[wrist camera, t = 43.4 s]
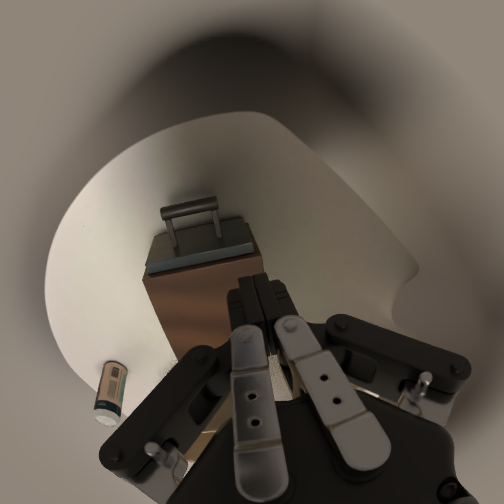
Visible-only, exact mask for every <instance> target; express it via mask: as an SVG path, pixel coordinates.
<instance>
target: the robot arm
mask: <svg viewBox="0 0 504 504" xmlns="http://www.w3.org/2000/svg"><path fill="white" fill-rule="evenodd" d="M237 280H238V285H239V288H236V289H231V290H229V291H228V293H227V296H226V300H227V306H228V313H229V319H230V325H231V336H230V338H229V340H228V341H227V342H226V343H224V344H223V345H221V346H219V347H217V348H215V349H214V348H212V347H211V346H208V345H198V346H195V347H193V348H191V349H190V350H188V351H187V353H186V354H185V355H184V356H183V357H182V358H181V359H180V360H179V362H178V363H177V364H176V365H175V366H174V367H173V368H172V369H171V370H170V372H169V373H168V374H167V375H166V376H165V377H164V378H163V379H162V381H161V382H160V383H159V384H158V385H157V386H156V387H155V388H154V389H153V390H152V392H151V393H150V394H149V395H148V396H147V397H146V398H145V399H144V400H143V401H142V403H141V404H140V405H139V406H138V407H137V408H136V409H135V410H134V411H133V412H132V414H131V415H130V416H129V417H128V418H127V419H126V420H125V421H124V422H123V424H121V426H120V427H119V428H118V429H117V430H116V431H115V432H114V433H113V434H112V435H111V436H110V437H109V438H108V439H107V441H106V442H105V443H104V444H103V445H102V446H101V448H100V451H99V459H100V462H101V464H102V465H103V466H104V467H105V468H106V469H108V470H110V471H111V472H113V473H114V474H115V475H116V476H118V477H120V478H121V479H123V480H125V481H127V482H128V483H130V484H132V485H134V486H135V487H137V488H138V489H139V490H141V491H142V492H143V493H145V494H146V495H147V496H148V497H150V498H151V499H153V500H154V501H155V502H157V503H158V504H479V503H478V502H477V500H476V499H475V498H474V497H473V496H472V495H471V494H470V493H469V492H468V491H467V490H466V489H465V488H464V487H463V486H462V485H461V484H460V483H459V481H458V479H457V477H456V473H455V467H454V443H453V440H452V437H451V435H450V434H449V432H448V431H447V430H446V429H445V426H446V423H447V421H448V418H449V415H450V412H451V410H452V407H453V404H454V400H455V397H456V395H457V394H458V392H459V391H460V389H461V388H462V387H463V385H464V384H465V382H466V381H467V379H468V377H469V376H470V374H471V364H470V362H469V361H468V360H467V359H466V358H465V357H463V356H461V355H458V354H456V353H453V352H450V351H447V350H444V349H441V348H438V347H435V346H432V345H430V344H427V343H424V342H421V341H418V340H415V339H412V338H410V337H407V336H404V335H401V334H398V333H396V332H393V331H390V330H387V329H385V328H382V327H379V326H376V325H374V324H371V323H368V322H366V321H363V320H360V319H357V318H355V317H352V316H349V315H346V314H336V315H333V316H331V317H330V318H329V319H328V320H327V321H326V324H313V323H308V322H306V321H305V320H304V319H303V318H302V317H300V316H299V315H298V312H297V310H296V308H295V306H294V304H293V302H292V300H291V297H290V295H289V293H288V292H287V289H286V287H285V285H284V284H283V283H282V282H280V281H279V280H273V281H269V279H268V276H267V274H266V272H265V273H260V274H255V275H252V277H251V276H246V277H241V278H237ZM269 348H270V351H269ZM270 352H271V355H276V354H277V357H278V360H279V367H280V370H281V372H282V375H283V377H284V379H285V382H286V384H287V386H288V389H289V391H290V393H291V396H292V398H293V400H290V401H275V400H274V395H273V389H272V383H271V378H270V372H269V361H268V356H270ZM350 383H352V384H354V385H356V386H359V387H361V388H363V389H365V390H368V391H370V392H372V393H375V394H377V395H380V396H382V397H384V398H387V399H389V400H392V401H394V402H397V403H398V407H397V406H394V405H392V404H390V403H388V402H385V401H383V400H381V399H379V398H377V397H375V396H373V395H370V394H368V393H366V392H364V391H361V390H358V389H354V388H353V387H352V385H351V384H350ZM230 392H231V404H232V417H231V418H229V419H228V420H226V421H225V422H224V423H223V424H222V425H221V426H220V427H219V428H218V429H217V431H216V432H215V434H214V435H213V437H212V438H211V440H210V441H209V443H208V444H207V446H206V447H205V448H204V450H203V451H202V453H201V454H200V456H199V457H198V459H197V460H196V461H195V463H194V464H193V466H192V467H191V468H190V470H189V471H188V473H187V474H186V475H185V477H184V474H185V472H186V470H187V467H188V462H187V459H186V457H185V456H184V455H185V454H186V453H187V451H188V450H189V449H190V447H191V446H192V445H193V444H194V442H195V441H196V440H197V438H198V437H199V436H200V434H201V433H202V432H203V430H204V429H205V428H206V426H207V425H208V424H209V422H210V421H211V420H212V418H213V417H214V416H215V414H216V413H217V411H218V410H219V409H220V407H221V406H222V405H223V403H224V402H225V400H226V399H227V398H228V396H229V393H230ZM183 477H184V478H183Z"/></svg>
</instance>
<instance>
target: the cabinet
mask: <svg viewBox="0 0 504 504" xmlns="http://www.w3.org/2000/svg"><path fill="white" fill-rule="evenodd" d="M245 224H246V227H247V229H248V232H249V234H250V237H251V239H252V242H253V248H254V252H253V253H248V254H246V255H243V256H238V257H233V258H228V259H224V260H219V261H214V262H209V263H204V264H199V265H195V266H190V267H185V268H180V269H175V270H170V271H165V272H156V273H151V274H148V271H147V269H145V273H144V276H143V279H142V281H143V283H144V286H145V288H146V291H147V293H148V296H149V298H150V301H151V303H152V305H153V308H154V310H155V312H156V315H157V317H158V319H159V321H160V324H161V326H162V328H163V330H164V332H165V335H166V337H167V339H168V341H169V343H170V345H171V347H172V349H173V351H174V353H175V355H176V358H177V360H178V362H179V360H180V359H181V358H182V357H183V356H184V355H185V354H186V353H187V351H188V350H190V349H191V348H193V347H195V346H198V345H208V346H211V347H212V348H214V349H215V348H217V347H219V346H221V345H223V344H224V343H226V342H227V341H228V340H229V338H230V336H231V325H230V319H229V313H228V306H227V300H226V296H227V293H228V291H229V290H231V289H236V288H239V285H238V280H237V278H241V277H246V276H251V277H252V275H255V274H260V273H264V268H263V261H262V255H261V253H260V251H259V248H258V246H257V243H256V241H255V239H254V236H253V234H252V232H251V229H250V227H249V224H248V223H245ZM269 351H270V348H269Z"/></svg>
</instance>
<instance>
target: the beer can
mask: <svg viewBox="0 0 504 504" xmlns="http://www.w3.org/2000/svg"><path fill="white" fill-rule="evenodd" d="M126 376H127V371H126V369H125V368H124V367H123V366H121V365H119V364H117V363H112V362H110V363H106V364H105V365H104V366H103V371H102V375H101V379H100V383H99V387H98V392H97V397H96V401H95V406H94V411H93V414H94V416H95V420H96V421H97V422H99V423H100V424H103V425H105V426H111V427H114V426H116V425H117V424H118V423H119V422H120V416H121V409H122V402H123V395H124V388H125V382H126Z"/></svg>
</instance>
